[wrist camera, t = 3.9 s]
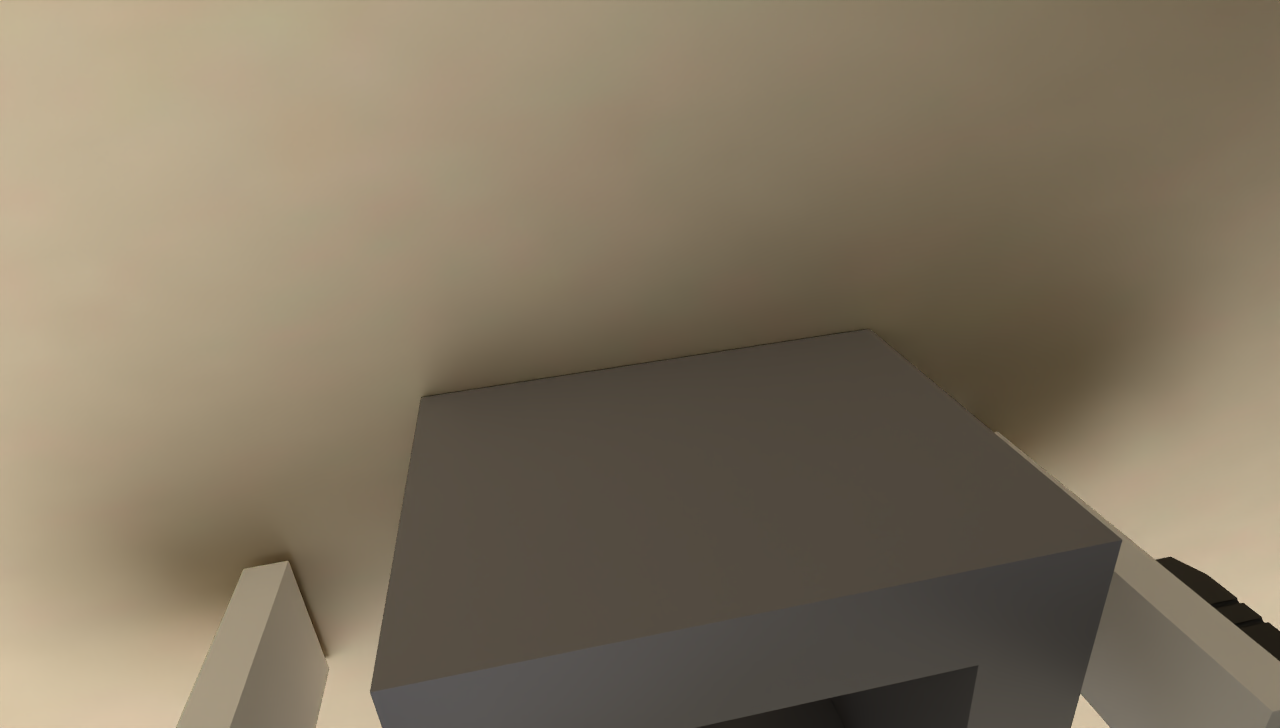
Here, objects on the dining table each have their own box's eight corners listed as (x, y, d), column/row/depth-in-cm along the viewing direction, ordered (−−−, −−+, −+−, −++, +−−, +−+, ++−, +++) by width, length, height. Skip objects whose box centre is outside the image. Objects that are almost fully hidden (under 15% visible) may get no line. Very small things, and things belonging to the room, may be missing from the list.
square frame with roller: (421, 397, 12) (369, 691, 7) (869, 328, 13) (1122, 539, 8) (507, 756, 16) (516, 1114, 11) (845, 682, 17) (1002, 977, 12)
